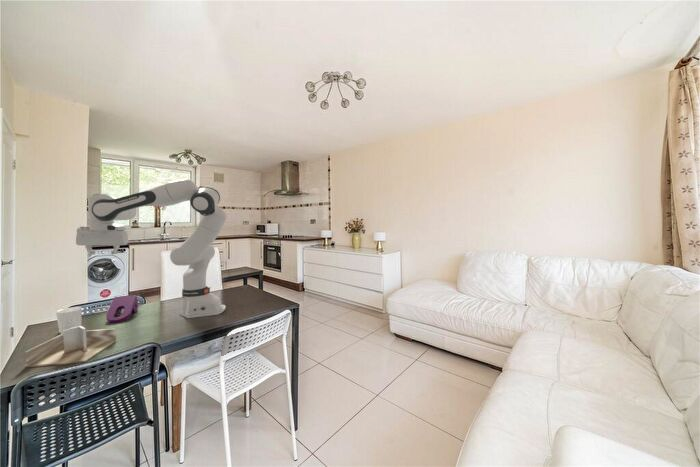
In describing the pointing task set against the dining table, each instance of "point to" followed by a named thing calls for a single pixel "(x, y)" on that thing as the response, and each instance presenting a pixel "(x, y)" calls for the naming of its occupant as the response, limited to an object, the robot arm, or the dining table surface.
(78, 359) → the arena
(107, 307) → the pliers
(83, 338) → the angle bracket
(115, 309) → the mounting bracket
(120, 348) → the dining table surface
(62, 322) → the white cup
